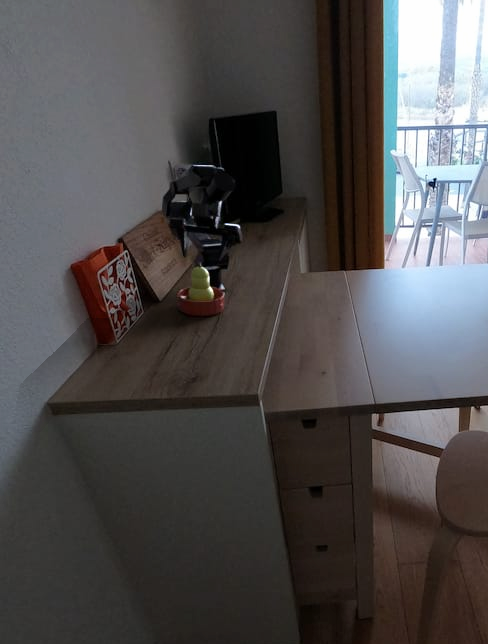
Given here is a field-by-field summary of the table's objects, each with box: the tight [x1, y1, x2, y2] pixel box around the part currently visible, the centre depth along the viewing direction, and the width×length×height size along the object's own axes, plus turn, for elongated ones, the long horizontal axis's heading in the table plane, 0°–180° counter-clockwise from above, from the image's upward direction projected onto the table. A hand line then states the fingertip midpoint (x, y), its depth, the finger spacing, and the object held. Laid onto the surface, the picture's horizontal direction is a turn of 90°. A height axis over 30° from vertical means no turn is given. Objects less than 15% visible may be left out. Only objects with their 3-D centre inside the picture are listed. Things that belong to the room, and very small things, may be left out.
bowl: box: [176, 286, 226, 317], centre depth 127 cm, size 12×12×4 cm
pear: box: [189, 263, 214, 301], centre depth 125 cm, size 7×7×12 cm
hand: (201, 258), depth 124 cm, fingers open, 9 cm apart
